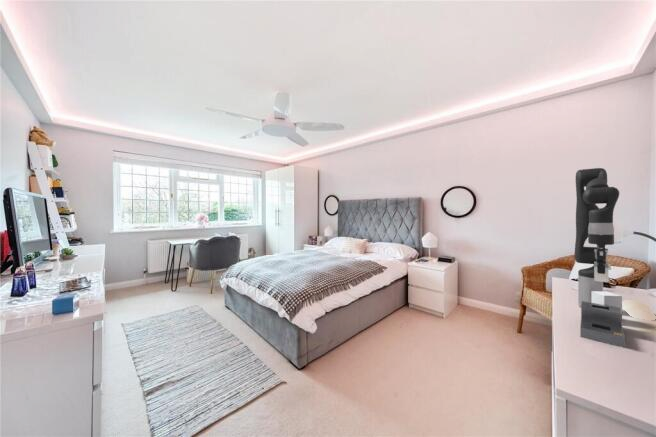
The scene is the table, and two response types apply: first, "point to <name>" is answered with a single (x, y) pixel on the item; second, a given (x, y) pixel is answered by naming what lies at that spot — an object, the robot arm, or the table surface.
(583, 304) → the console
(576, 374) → the table surface
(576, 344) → the table surface
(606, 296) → the supplement box
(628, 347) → the table surface
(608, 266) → the plug
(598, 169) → the robot arm
